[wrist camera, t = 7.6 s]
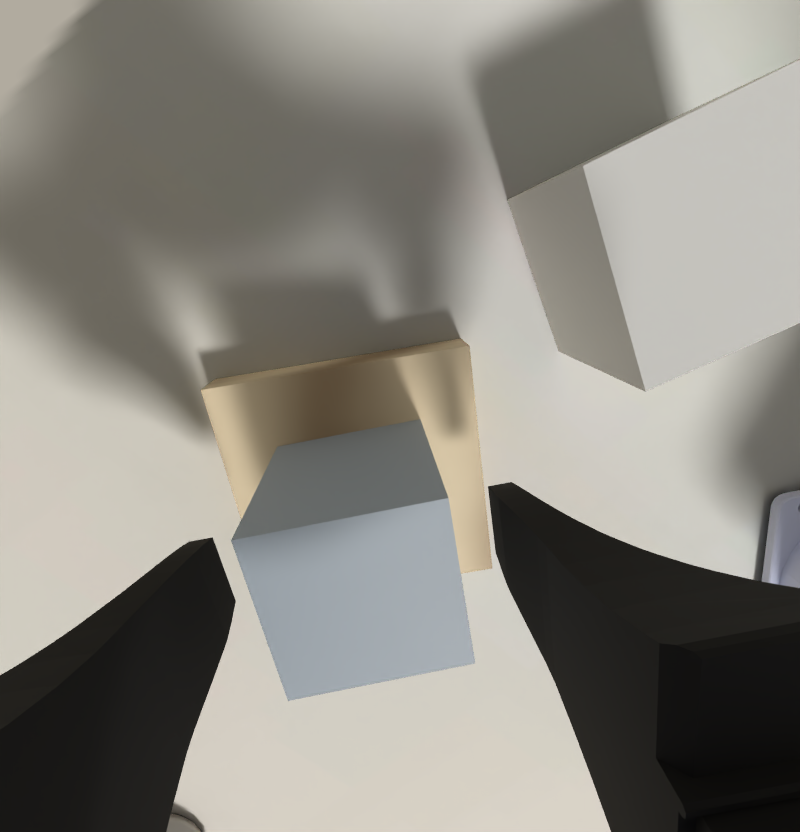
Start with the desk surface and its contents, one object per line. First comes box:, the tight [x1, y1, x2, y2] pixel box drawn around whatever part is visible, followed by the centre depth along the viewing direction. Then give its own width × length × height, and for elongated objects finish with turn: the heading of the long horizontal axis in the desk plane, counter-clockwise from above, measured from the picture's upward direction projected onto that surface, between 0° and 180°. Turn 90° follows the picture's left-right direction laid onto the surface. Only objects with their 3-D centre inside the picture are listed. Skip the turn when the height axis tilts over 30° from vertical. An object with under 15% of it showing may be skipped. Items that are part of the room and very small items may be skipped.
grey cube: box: [507, 59, 800, 392], centre depth 12 cm, size 5×5×5 cm
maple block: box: [201, 338, 492, 574], centre depth 15 cm, size 8×8×2 cm
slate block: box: [231, 419, 475, 701], centre depth 12 cm, size 4×4×5 cm
